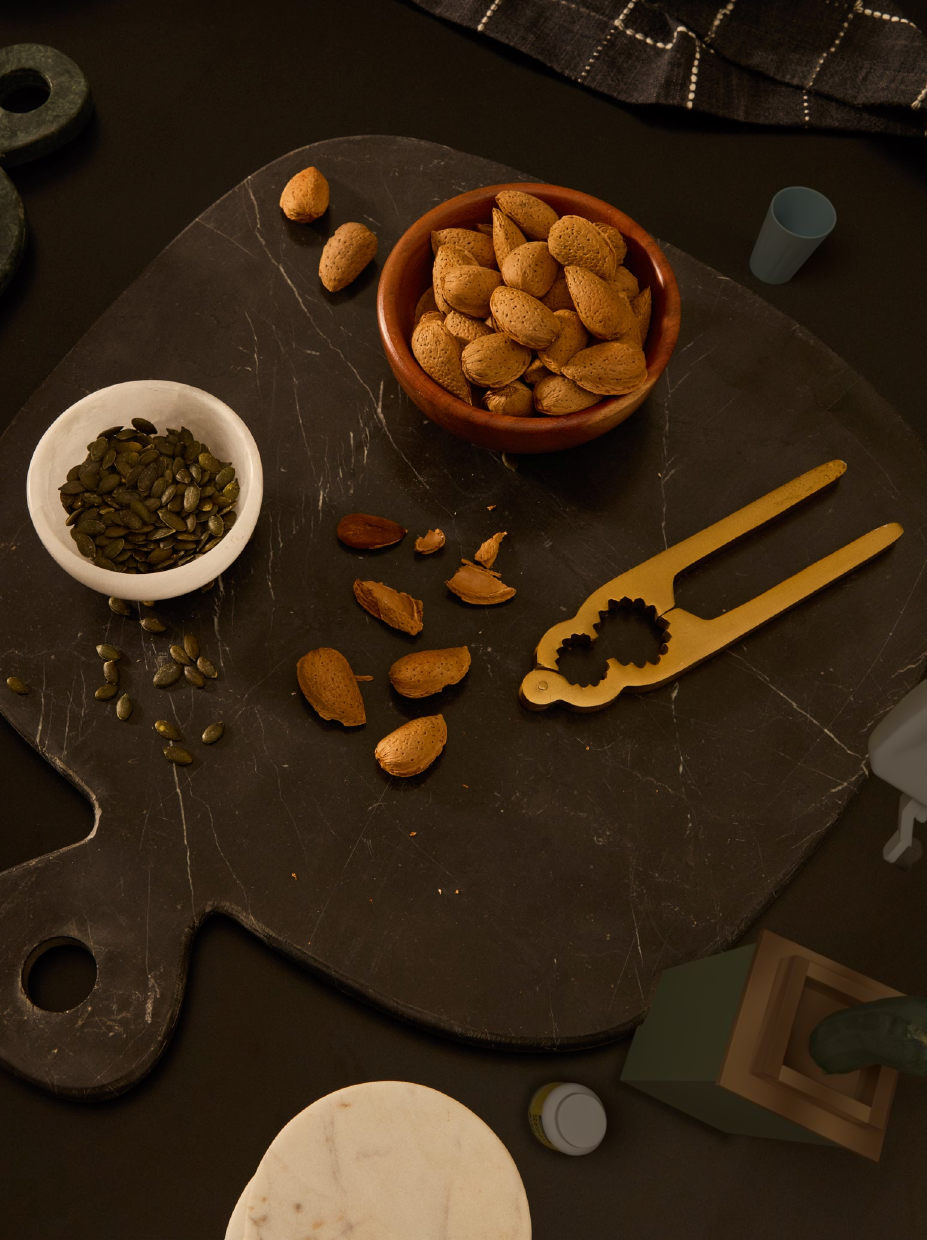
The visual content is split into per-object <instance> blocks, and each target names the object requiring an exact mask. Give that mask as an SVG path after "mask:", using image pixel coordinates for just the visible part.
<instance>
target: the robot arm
mask: <svg viewBox="0 0 927 1240" xmlns="http://www.w3.org/2000/svg"><path fill="white" fill-rule="evenodd" d="M867 754H868V759H869V764H870V768H871V771H872V772H873V774H874V775H875V776H876V777H878V778H879V779H881V780H883V781H884V782H885V783H888V784H889V785H890V786H892V787H894V788H896V789H897V790H899V791H900V792H902V794H901V795H900V796H899V804H898V805H899V806H898V817H897V818H898V819H897V830H896V831H895V832H894V834H893V835H892V836H891V837H890V838H889V839H888V841H887V842H886V843H885V845H884V846H883V848H882V858H883V860H885V861H886V862H888V864H891V865H892V866H894V867H896V868H897V869H899V870H901V871H902V872H904V873H906V874H907V873H908V872H909V871H910V870H911V869H912V868H913V867H912V865H913V864H916V863H917V862H919V860H920V859H921V858H922V856H923V854H924V853H923V849H922V842H921V841H920V840H919V839H918V838H916V837H915V836H913V834H914V833H913V832H914V824H915V823H914V822H915V820H916V821H918V822H919V823H921V824H924V823H926V822H927V678H924V679H923V680H922V681H921V682H920V683H918V684H917V685H916V686H915V687H914V688H913V689H912V690H911V691H909V692H908V693H907V694H906V695H905V696H903V698H902V699H901V700H900V701H899V702H898V703H896V705H894V706H893V708H892V709H891V710H890V711H889V712H888V713H887V714H886V715H885V716H884V717H883V719H882V720H881V721H880V722H879V723H878V724H877V725H876V727H874V729H873V731H872V732H871V733H870V736H869V738H868V742H867Z"/></svg>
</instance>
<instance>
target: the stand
mask: <svg viewBox="0 0 927 1240" xmlns="http://www.w3.org/2000/svg"><path fill="white" fill-rule="evenodd" d="M756 943H757V942H754V943H751V944H747V945H744V946H739V947H737V948H733V949H729V950H726V951H723V952H720V953H716V954H713V955H709V956H706V957H701V958H699V959H696V960H692V961H689V962H685V963H681V964H679V965H676V966H672V967H668V968H665V969H662V970H663V972H662V976H661V978H660V981H659V985H658V987H657V990H656V994H655V997H654V1000H653V1003H652V1007H651V1009H650V1011H649V1013H648V1015H647V1017H646V1019H645V1021H644V1023H643V1024H642V1025H641V1024H640V1025H641V1026H640V1025H639V1026H637V1025H636V1029H635V1032H634V1035H633V1037H632V1041H631V1043H630V1046H629V1050H628V1053H627V1056H626V1060H625V1061H624V1062H625V1063H624V1065H623V1069H622V1072H621V1075H620V1078H619V1081H620V1082H622V1083H625V1084H627V1085H629V1086H630V1087H632V1088H634V1089H636V1090H638V1091H640V1092H642V1093H644V1094H646V1095H648V1096H650V1097H652V1098H655V1099H656V1100H658V1101H661V1102H662V1103H664V1104H666V1105H669V1106H670V1107H672V1108H675V1109H677V1110H679V1111H680V1112H683V1113H684V1114H686V1115H688V1116H691V1117H692V1118H694V1119H697V1120H699V1121H701V1122H703V1123H704V1124H707V1125H709V1126H710V1127H713V1128H715V1129H717V1130H719V1131H721V1132H723V1133H724V1134H732V1135H740V1136H748V1137H757V1138H764V1139H770V1140H771V1139H772V1140H780V1141H788V1142H795V1143H803V1144H810V1145H818V1146H826V1147H835V1148H841V1147H840V1146H838V1145H836V1144H834V1143H832V1142H830V1141H828V1140H826V1139H824V1138H822V1137H820V1136H818V1135H816V1134H814V1133H812V1132H810V1131H808V1130H806V1129H804V1128H802V1127H800V1126H798V1125H796V1124H794V1123H791V1122H789V1121H787V1120H785V1119H783V1118H781V1117H779V1116H777V1115H775V1114H773V1113H771V1112H769V1111H767V1110H765V1109H763V1108H761V1107H759V1106H757V1105H755V1104H753V1103H751V1102H749V1101H747V1100H745V1099H743V1098H741V1097H739V1096H737V1095H735V1094H732V1093H730V1092H728V1091H726V1090H724V1089H722V1088H720V1087H718V1086H716V1085H715V1083H716V1080H717V1077H718V1073H719V1070H720V1066H721V1063H722V1059H723V1056H724V1053H725V1049H726V1046H727V1042H728V1039H729V1035H730V1032H731V1029H732V1025H733V1022H734V1018H735V1015H736V1011H737V1008H738V1005H739V1001H740V998H741V994H742V991H743V987H744V984H745V981H746V977H747V974H748V970H749V967H750V963H751V960H752V957H753V953H754V950H755V946H756Z"/></svg>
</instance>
